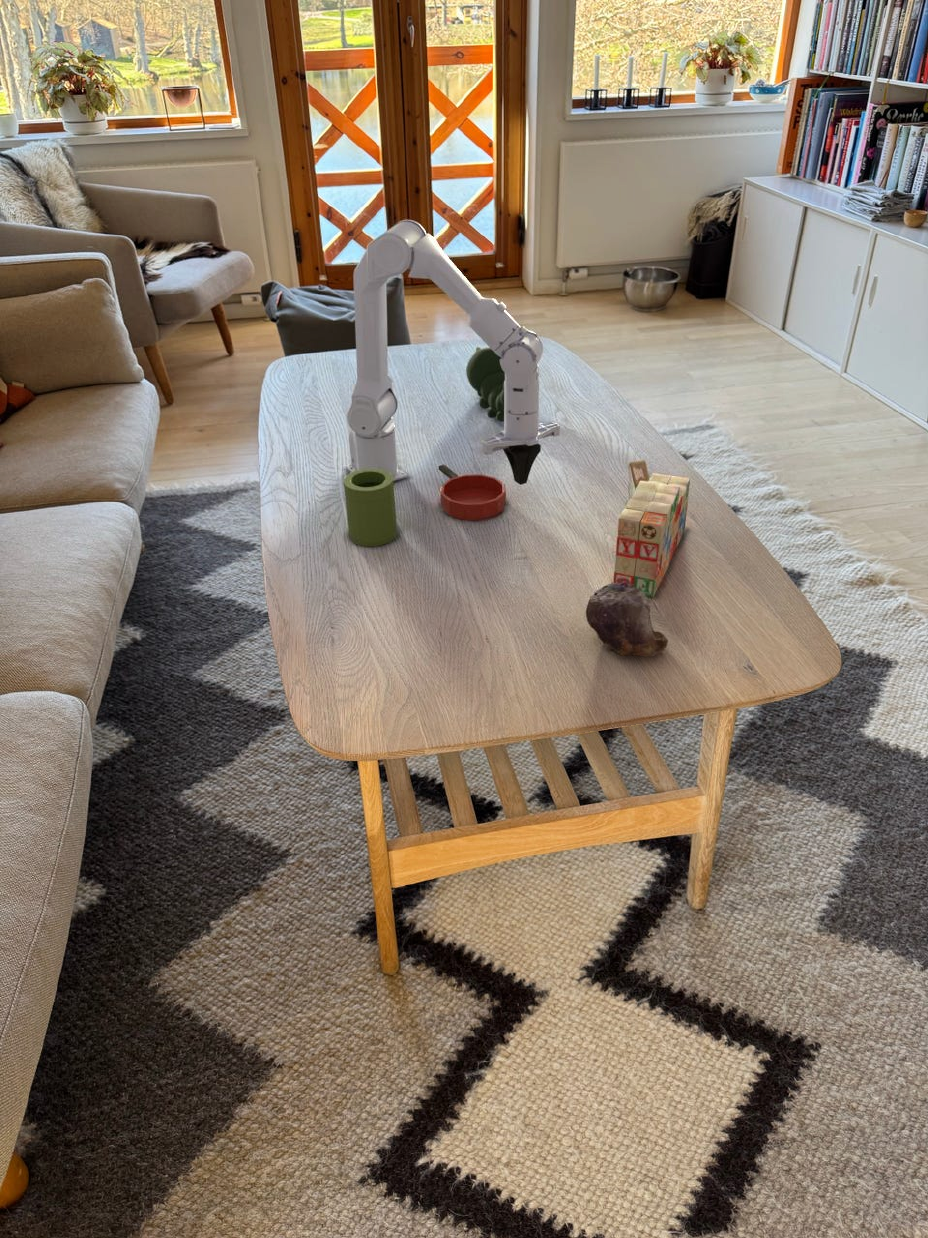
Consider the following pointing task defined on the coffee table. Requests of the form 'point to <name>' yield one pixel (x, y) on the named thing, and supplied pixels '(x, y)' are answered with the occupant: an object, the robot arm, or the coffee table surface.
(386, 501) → the crock
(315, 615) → the coffee table surface
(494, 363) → the toy figurine
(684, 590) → the coffee table surface
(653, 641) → the rock
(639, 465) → the tin
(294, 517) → the coffee table surface
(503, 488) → the pan
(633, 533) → the stack of blocks
